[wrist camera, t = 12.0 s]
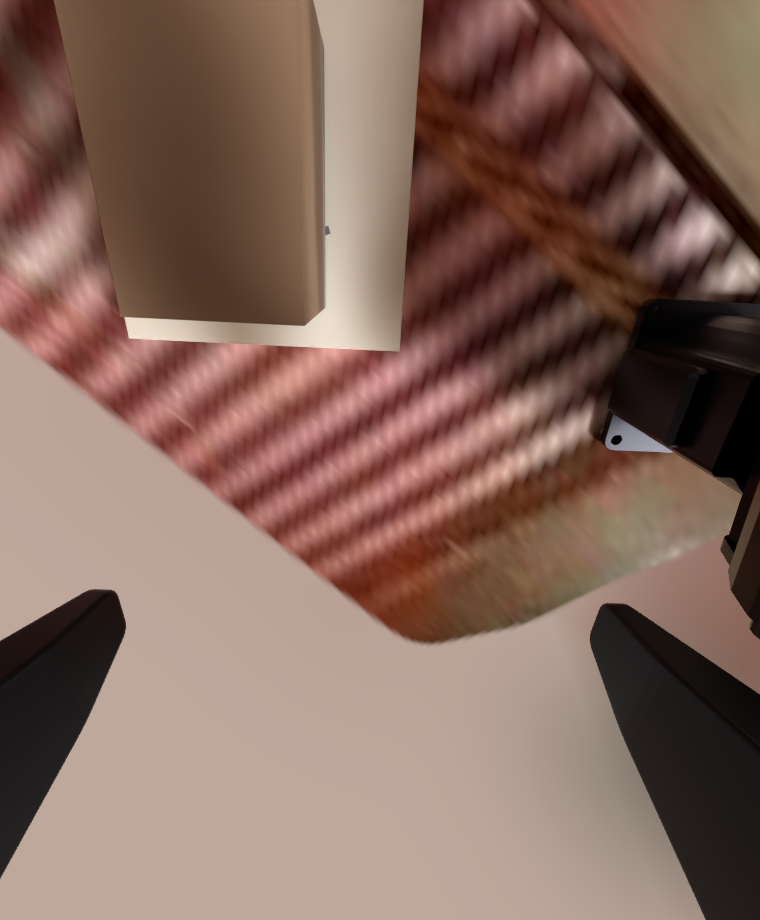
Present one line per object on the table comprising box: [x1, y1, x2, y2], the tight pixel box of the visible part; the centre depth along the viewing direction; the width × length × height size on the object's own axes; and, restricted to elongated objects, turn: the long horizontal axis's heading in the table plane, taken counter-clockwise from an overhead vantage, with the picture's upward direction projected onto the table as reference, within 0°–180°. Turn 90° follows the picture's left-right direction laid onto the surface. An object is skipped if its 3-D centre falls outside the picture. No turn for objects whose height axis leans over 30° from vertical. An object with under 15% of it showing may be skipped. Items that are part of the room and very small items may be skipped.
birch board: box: [125, 0, 424, 351], centre depth 14 cm, size 10×10×2 cm
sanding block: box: [54, 0, 326, 326], centre depth 11 cm, size 4×7×5 cm, turn 177°
